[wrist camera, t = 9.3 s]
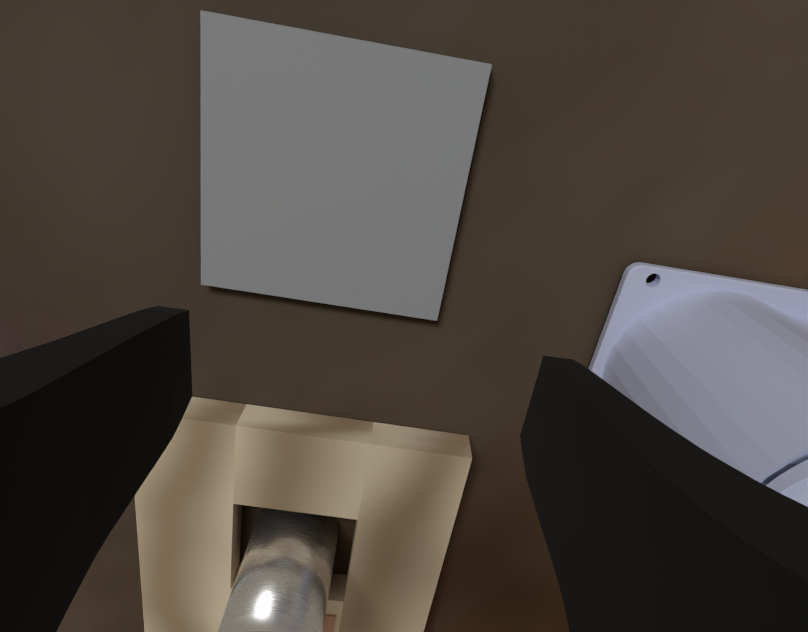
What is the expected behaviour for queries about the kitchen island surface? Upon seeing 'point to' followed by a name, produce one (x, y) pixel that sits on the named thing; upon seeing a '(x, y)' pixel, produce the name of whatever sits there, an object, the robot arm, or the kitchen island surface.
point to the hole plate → (298, 510)
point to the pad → (332, 165)
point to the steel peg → (284, 574)
